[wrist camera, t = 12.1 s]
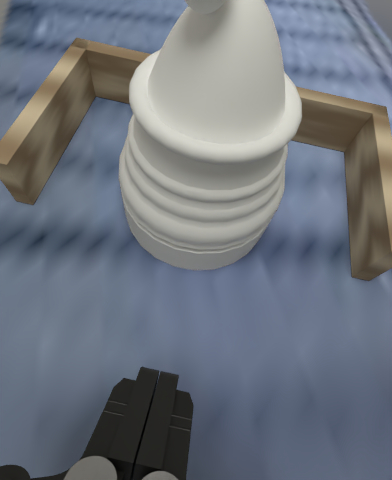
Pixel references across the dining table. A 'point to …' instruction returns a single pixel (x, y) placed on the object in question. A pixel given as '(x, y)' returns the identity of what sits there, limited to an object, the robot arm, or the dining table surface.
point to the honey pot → (209, 136)
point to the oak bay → (309, 131)
